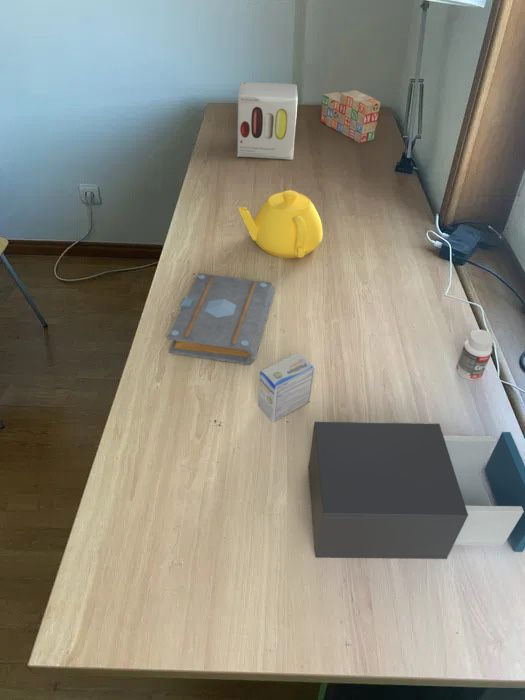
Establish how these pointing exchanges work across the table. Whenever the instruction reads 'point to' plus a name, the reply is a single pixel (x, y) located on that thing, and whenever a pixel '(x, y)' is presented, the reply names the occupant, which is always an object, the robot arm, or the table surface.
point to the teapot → (285, 225)
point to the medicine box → (285, 386)
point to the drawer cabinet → (383, 491)
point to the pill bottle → (475, 355)
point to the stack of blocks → (351, 114)
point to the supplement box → (266, 120)
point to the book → (222, 319)
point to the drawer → (506, 484)
